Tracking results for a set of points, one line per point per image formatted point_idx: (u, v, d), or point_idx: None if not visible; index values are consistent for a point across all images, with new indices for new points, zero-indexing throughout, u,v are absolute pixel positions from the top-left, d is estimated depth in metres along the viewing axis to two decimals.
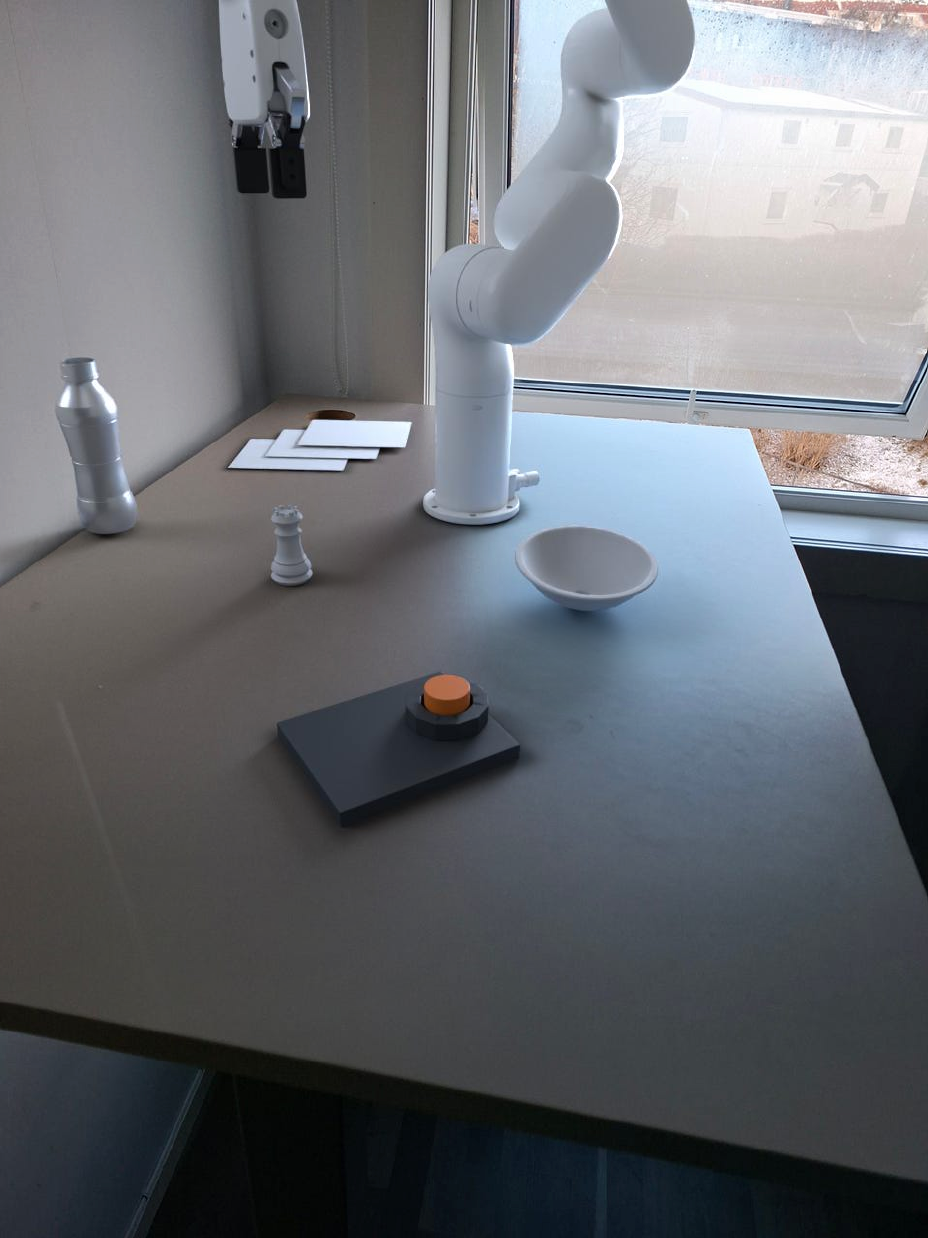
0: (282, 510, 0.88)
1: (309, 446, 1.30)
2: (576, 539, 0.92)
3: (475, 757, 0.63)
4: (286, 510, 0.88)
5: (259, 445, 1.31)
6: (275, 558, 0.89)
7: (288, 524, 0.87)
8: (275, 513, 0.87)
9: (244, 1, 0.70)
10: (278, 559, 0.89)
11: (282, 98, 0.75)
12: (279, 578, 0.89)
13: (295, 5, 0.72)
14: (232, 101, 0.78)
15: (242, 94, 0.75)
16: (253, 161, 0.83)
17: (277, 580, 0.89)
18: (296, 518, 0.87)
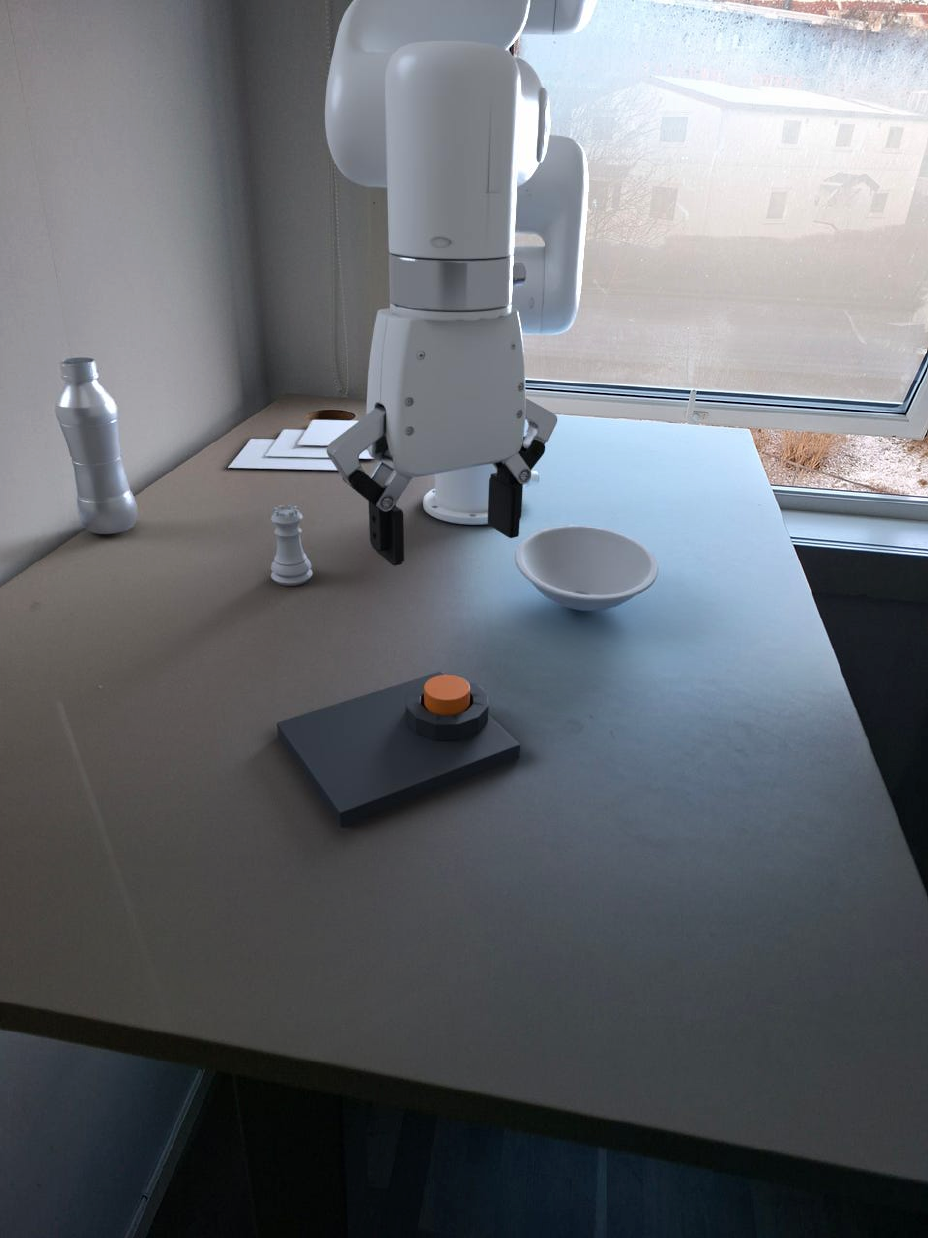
0: (282, 510, 0.88)
1: (309, 446, 1.30)
2: (576, 539, 0.92)
3: (475, 757, 0.63)
4: (286, 510, 0.88)
5: (259, 445, 1.31)
6: (275, 558, 0.89)
7: (288, 524, 0.87)
8: (275, 513, 0.87)
9: (514, 328, 0.53)
10: (278, 559, 0.89)
11: None
12: (279, 578, 0.89)
13: None
14: (439, 450, 0.53)
15: (482, 436, 0.55)
16: None
17: (277, 580, 0.89)
18: (296, 518, 0.87)
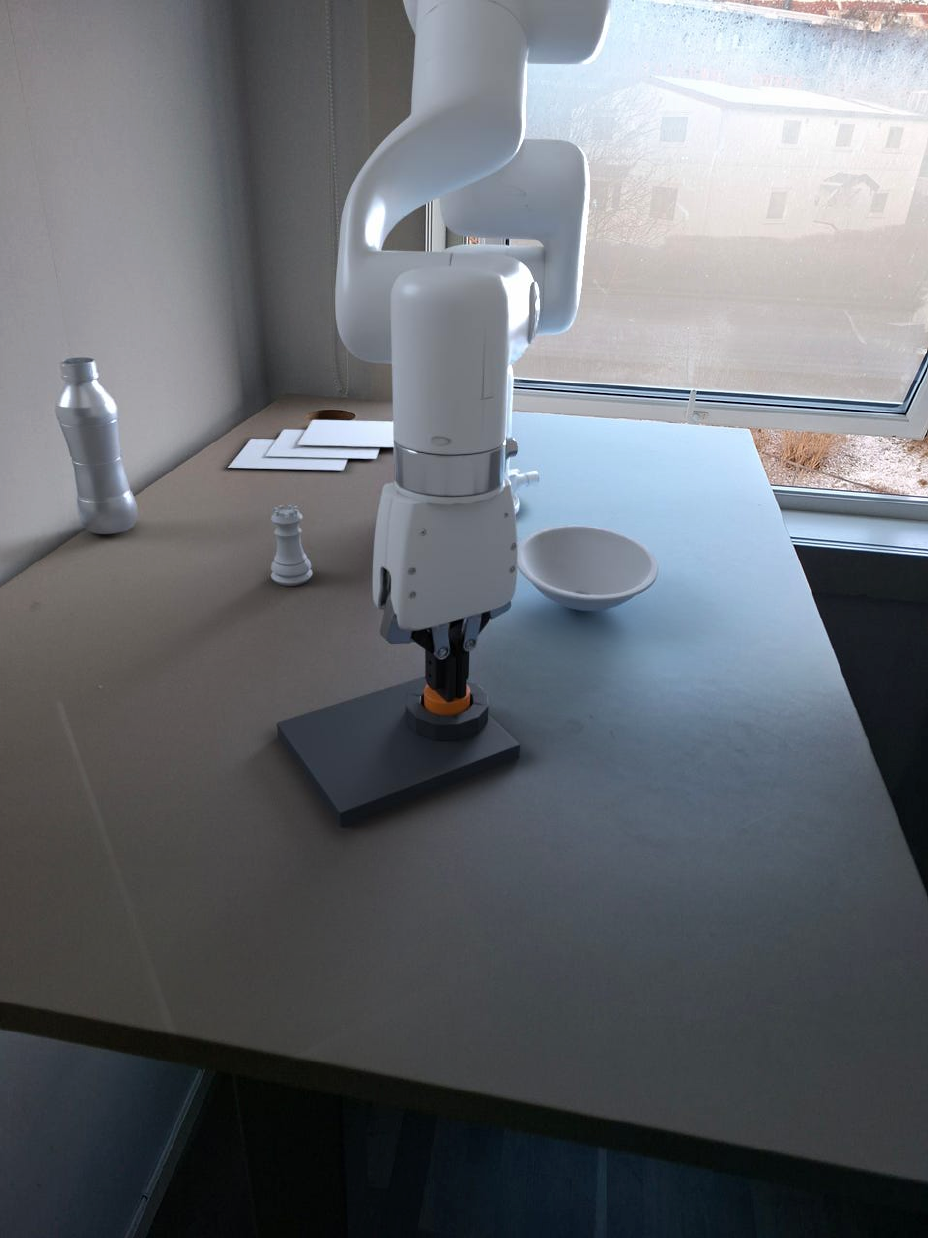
0: (282, 510, 0.88)
1: (309, 446, 1.30)
2: (576, 539, 0.92)
3: (475, 757, 0.63)
4: (286, 510, 0.88)
5: (259, 445, 1.31)
6: (275, 558, 0.89)
7: (288, 524, 0.87)
8: (275, 513, 0.87)
9: (507, 499, 0.58)
10: (278, 559, 0.89)
11: None
12: (279, 578, 0.89)
13: None
14: (439, 608, 0.59)
15: (478, 592, 0.60)
16: None
17: (277, 580, 0.89)
18: (296, 518, 0.87)
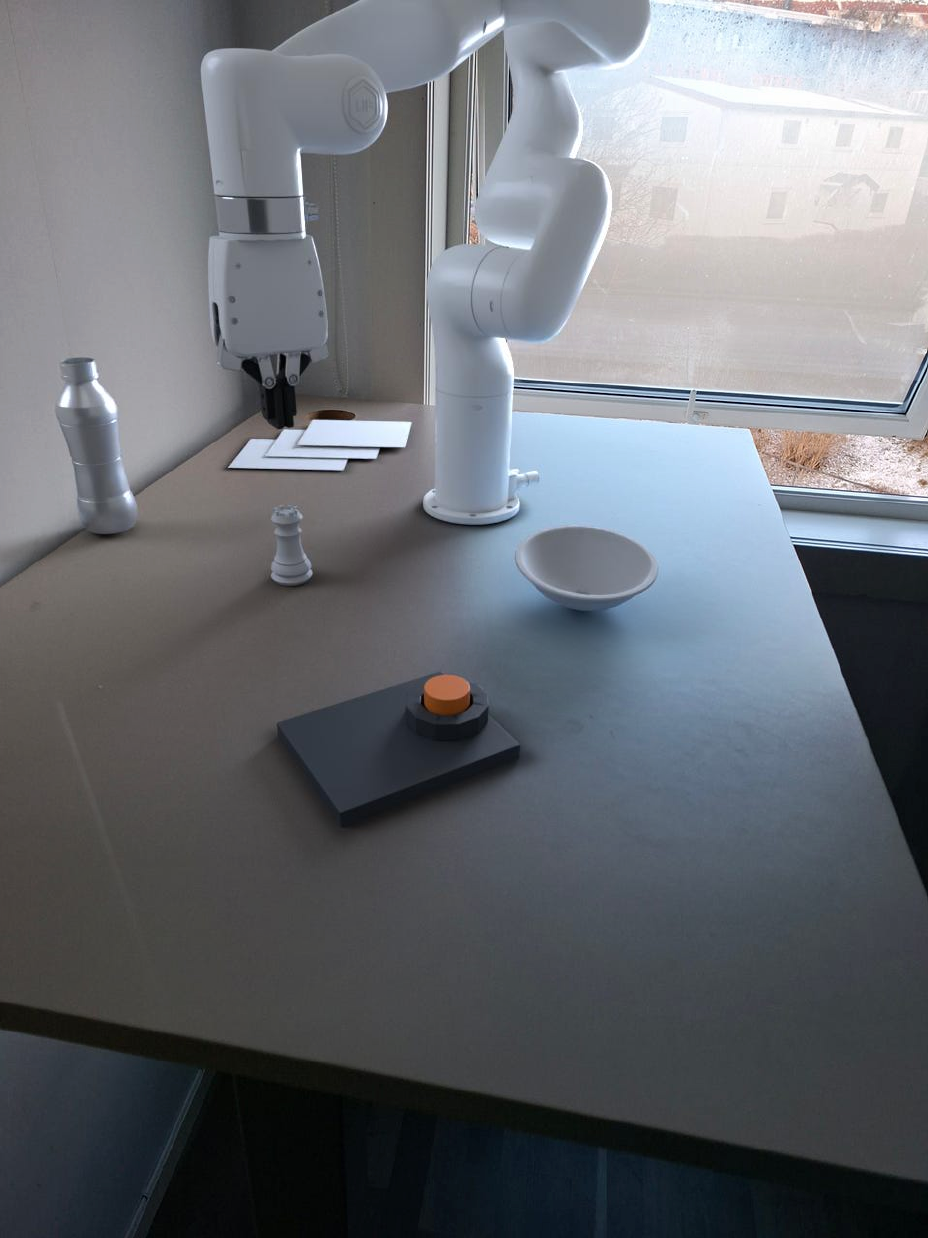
0: (282, 510, 0.88)
1: (309, 446, 1.30)
2: (576, 539, 0.92)
3: (475, 757, 0.63)
4: (286, 510, 0.88)
5: (259, 445, 1.31)
6: (275, 558, 0.89)
7: (288, 524, 0.87)
8: (275, 513, 0.87)
9: (309, 249, 0.75)
10: (278, 559, 0.89)
11: None
12: (279, 578, 0.89)
13: None
14: (259, 336, 0.76)
15: (292, 328, 0.77)
16: None
17: (277, 580, 0.89)
18: (296, 518, 0.87)
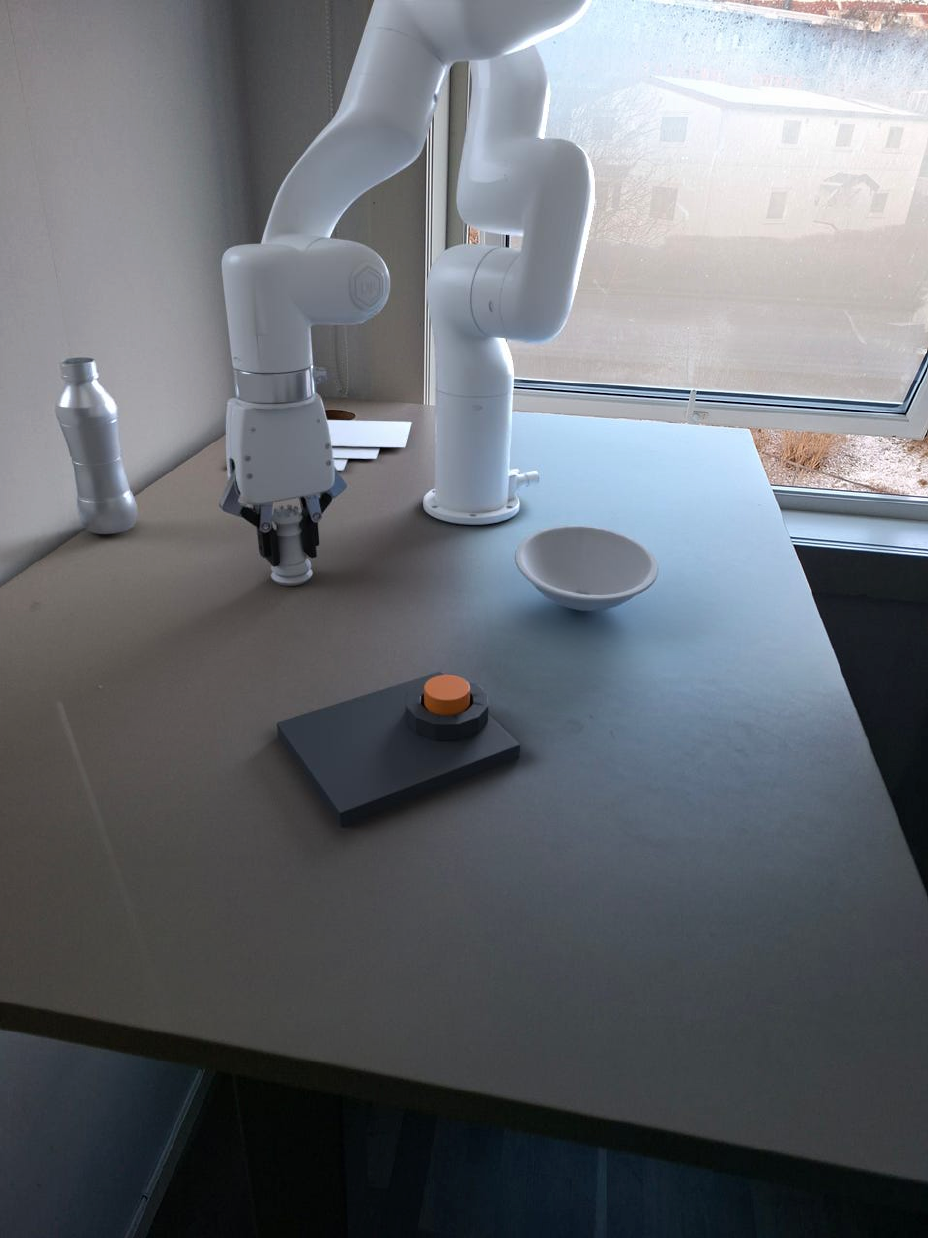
0: (282, 510, 0.88)
1: None
2: (576, 539, 0.92)
3: (475, 757, 0.63)
4: (286, 510, 0.88)
5: None
6: None
7: (288, 524, 0.87)
8: (275, 513, 0.87)
9: (318, 410, 0.82)
10: None
11: None
12: (279, 578, 0.89)
13: None
14: (271, 487, 0.83)
15: (302, 478, 0.84)
16: None
17: (277, 580, 0.89)
18: (296, 518, 0.87)
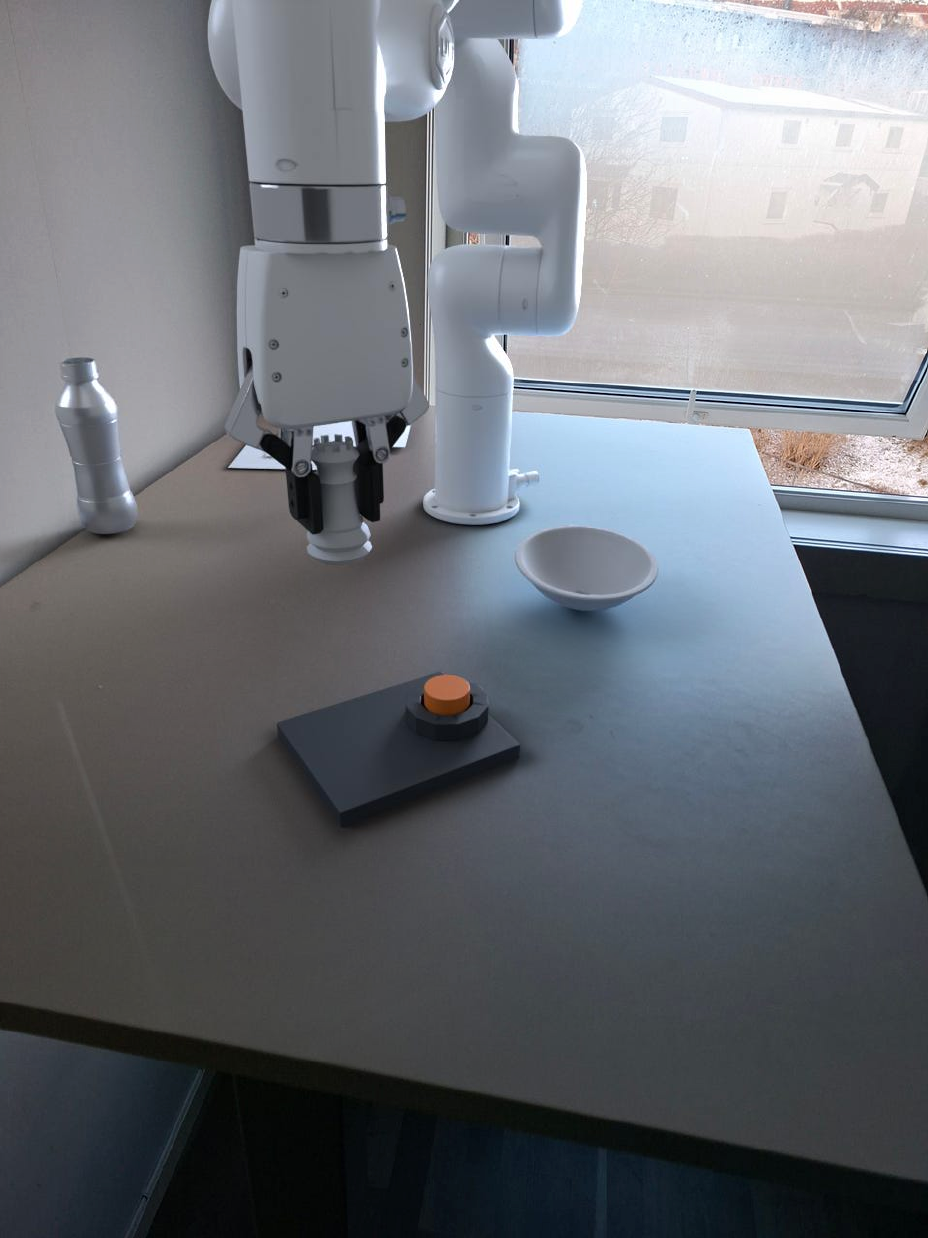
0: (326, 443, 0.54)
1: None
2: (576, 539, 0.92)
3: (475, 757, 0.63)
4: (333, 443, 0.54)
5: None
6: None
7: (337, 465, 0.53)
8: (316, 446, 0.53)
9: (392, 267, 0.49)
10: None
11: None
12: (320, 553, 0.56)
13: None
14: (313, 399, 0.50)
15: (362, 386, 0.51)
16: None
17: (317, 556, 0.56)
18: (349, 454, 0.53)
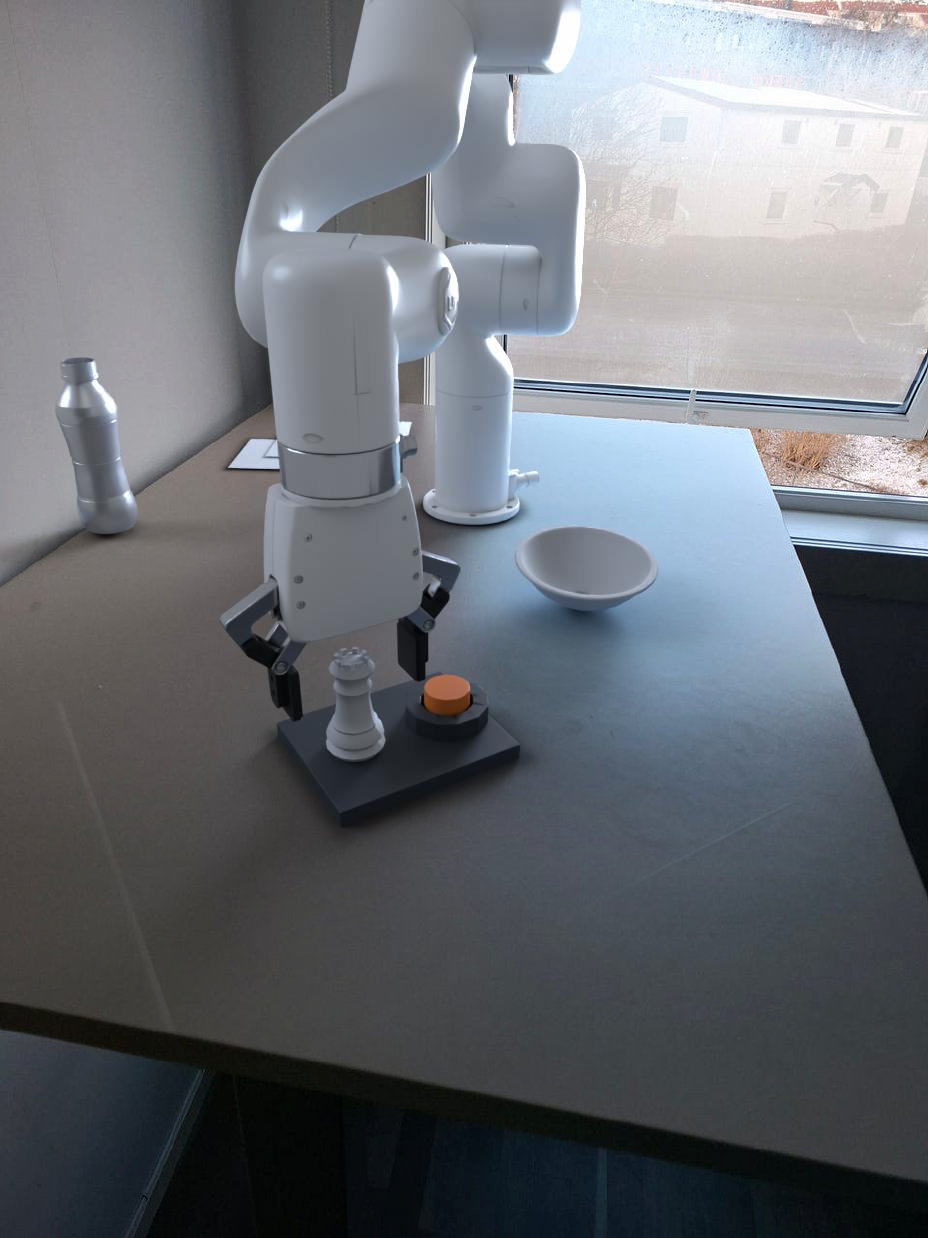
0: (345, 657, 0.60)
1: None
2: (576, 539, 0.92)
3: (475, 757, 0.63)
4: (351, 657, 0.60)
5: (259, 445, 1.31)
6: (333, 722, 0.62)
7: (355, 681, 0.59)
8: (336, 664, 0.59)
9: (405, 501, 0.54)
10: (338, 725, 0.61)
11: None
12: (339, 751, 0.62)
13: None
14: (333, 618, 0.55)
15: (377, 601, 0.56)
16: None
17: (336, 754, 0.62)
18: (366, 670, 0.59)
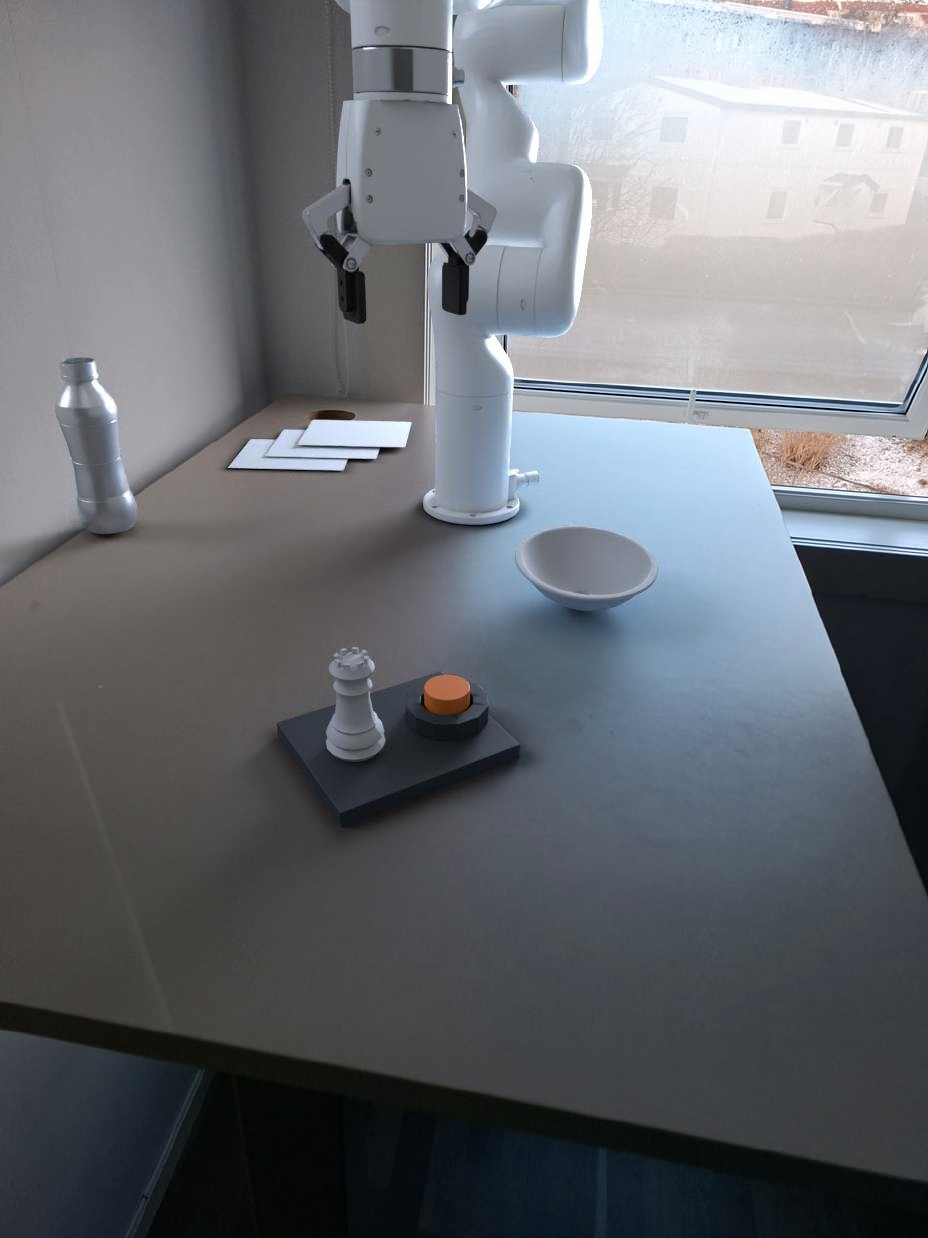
0: (345, 657, 0.60)
1: (309, 446, 1.30)
2: (576, 539, 0.92)
3: (475, 757, 0.63)
4: (351, 657, 0.60)
5: (259, 445, 1.31)
6: (333, 722, 0.62)
7: (355, 681, 0.59)
8: (336, 664, 0.59)
9: (455, 118, 0.65)
10: (338, 725, 0.61)
11: None
12: (339, 751, 0.62)
13: None
14: (394, 220, 0.66)
15: (430, 213, 0.67)
16: None
17: (336, 754, 0.62)
18: (366, 670, 0.59)
